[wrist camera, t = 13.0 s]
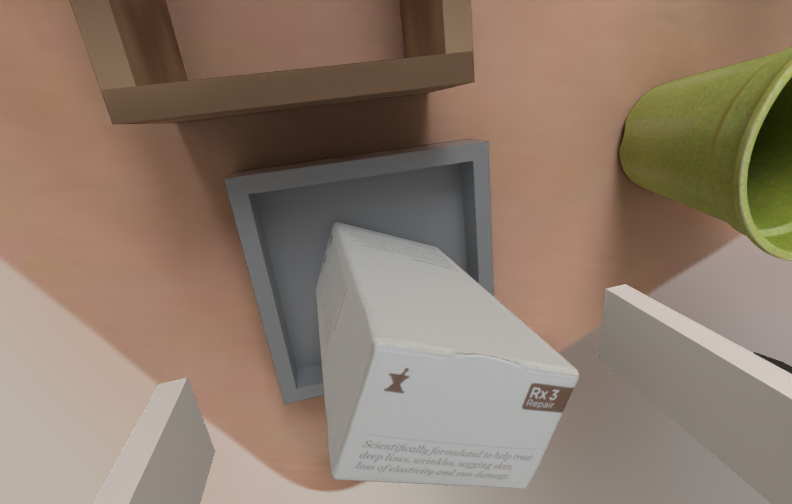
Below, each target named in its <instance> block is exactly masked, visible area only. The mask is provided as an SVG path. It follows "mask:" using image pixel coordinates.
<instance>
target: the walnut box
mask: <svg viewBox="0 0 792 504" xmlns="http://www.w3.org/2000/svg"><path fill="white" fill-rule="evenodd" d="M69 1H70V3H71V6H72V9H73V12H74V15H75V18H76V21H77V23H78V26H79V29H80V32H81V35H82V38H83V41H84V44H85V46H86V49H87V52H88V55H89V58H90V61H91V64H92V67H93V69H94V72H95V75H96V78H97V81H98V84H99V87H100V90H101V92H102V95H103V98H104V101H105V104H106V107H107V110H108V113H109V115H110V118H111V121H112V124H151V123H180V122H188V121H197V120H205V119H213V118H222V117H230V116H238V115H247V114H255V113H264V112H272V111H280V110H289V109H297V108H306V107H314V106H322V105H331V104H339V103H347V102H356V101H364V100H373V99H381V98H389V97H398V96H406V95H414V94H423V93H430V92H434V91H438V90H442V89H447V88H451V87H455V86H459V85H463V84H468V83H472V82H475V81H474V59H473V36H472V13H471V0H400V8H401V18H402V28H403V38H404V49H405V58H401V59H391V60H382V61H372V62H363V63H353V64H343V65H334V66H324V67H315V68H305V69H296V70H286V71H276V72H267V73H257V74H248V75H238V76H229V77H219V78H209V79H200V80H190V81H187V77H186V74H185V70H184V66H183V63H182V59H181V56H180V52H179V48H178V45H177V41H176V37H175V34H174V30H173V26H172V23H171V19H170V16H169V12H168V8H167V5H166V1H165V0H69Z"/></svg>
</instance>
